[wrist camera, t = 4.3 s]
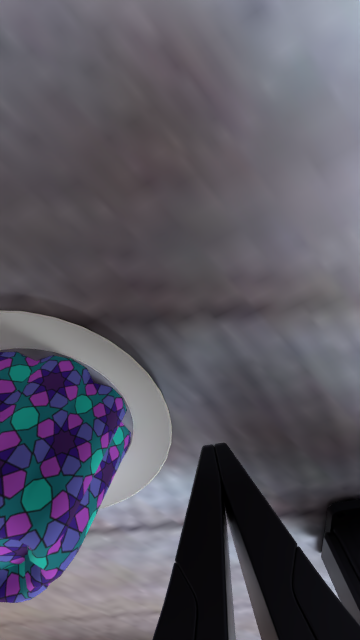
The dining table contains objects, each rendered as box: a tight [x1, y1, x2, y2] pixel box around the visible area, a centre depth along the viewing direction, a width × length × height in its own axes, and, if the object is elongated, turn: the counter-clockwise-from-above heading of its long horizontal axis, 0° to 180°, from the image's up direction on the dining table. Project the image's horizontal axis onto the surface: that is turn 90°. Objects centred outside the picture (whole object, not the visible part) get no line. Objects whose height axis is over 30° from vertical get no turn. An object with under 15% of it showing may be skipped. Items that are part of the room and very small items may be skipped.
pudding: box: [0, 311, 172, 603], centre depth 9 cm, size 12×12×5 cm
